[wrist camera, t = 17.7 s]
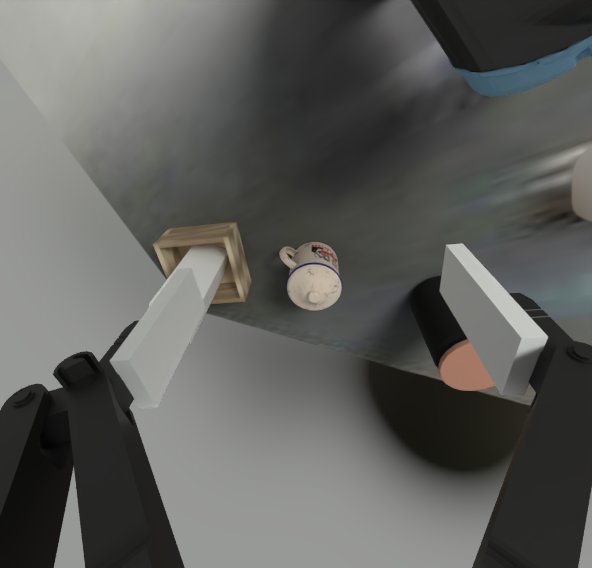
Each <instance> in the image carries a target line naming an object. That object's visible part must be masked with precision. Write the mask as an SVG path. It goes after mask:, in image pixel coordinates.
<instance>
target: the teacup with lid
mask: <svg viewBox="0 0 592 568" xmlns="http://www.w3.org/2000/svg"><path fill="white" fill-rule="evenodd" d="M286 253H287V254H289V255H291V256H292V259H290V258H289V257H288V255H287V254H286ZM279 255H280V258H281V260H282V261H283V262H284V263H285V264H286V265H287V266H288V267H289V268H290V273H289V277H288V279H287V284H286V288H287V293H288V295H289V297H290V298H291V300H292V301H293V302H294V303H295V304H296V305H298V306H299V307H301V308H304V309H307V310H322V309H325V308H328V307H329V306H331V305H332V304H334V303H335V302H336V301H337V300H338V298H339V296H340V294H341V292H342V280H341V278H340V275H339V267H338V259H337V256H336V254H335V252H334V251H333V249H332V248H331V247H329V246H328V245H326V244H324V243H320V242H309V243H305V244H303V245H301V246H300V247H298V248H297V249H296V250H294V249H293V248H291V247H288V246H286V247H283V248H282V249H281V250H280V252H279Z"/></svg>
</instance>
